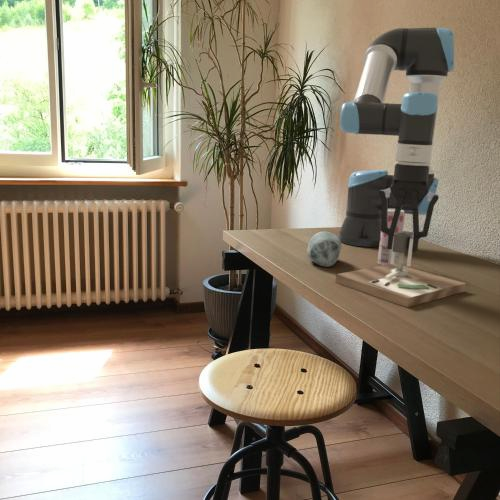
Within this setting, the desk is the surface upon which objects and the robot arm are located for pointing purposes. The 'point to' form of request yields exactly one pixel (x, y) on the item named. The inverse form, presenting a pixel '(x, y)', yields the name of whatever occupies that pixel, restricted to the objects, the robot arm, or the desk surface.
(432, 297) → the dial board
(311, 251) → the pale teal yarn skein
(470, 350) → the desk surface
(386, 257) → the beverage can
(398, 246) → the grey piece
